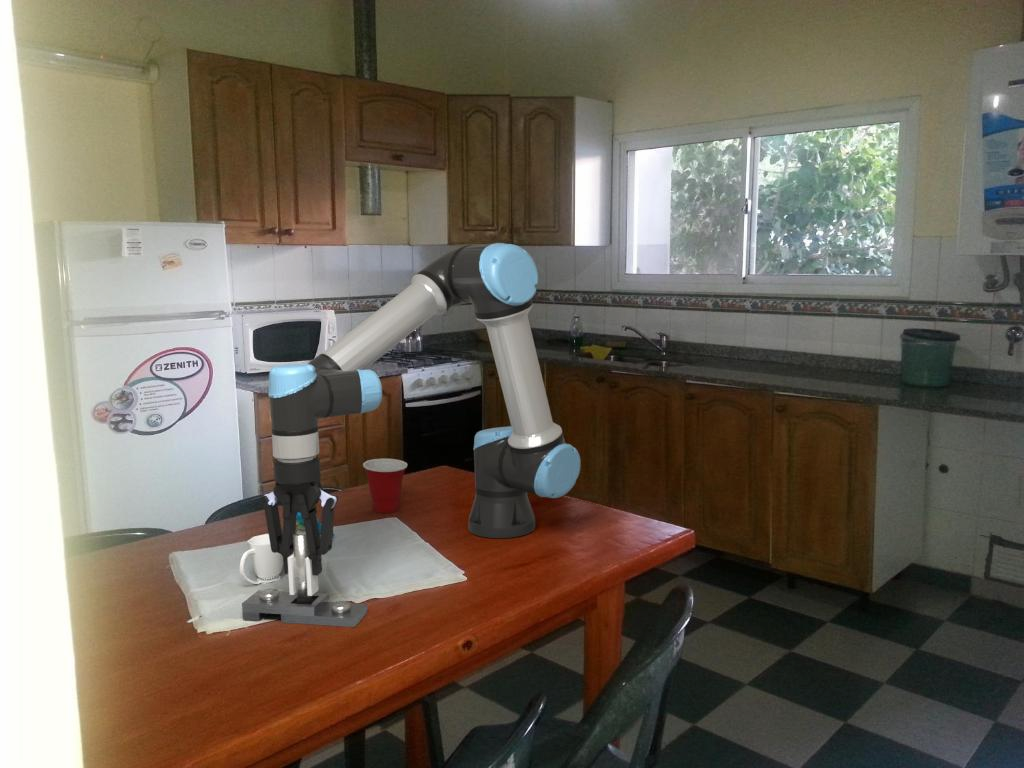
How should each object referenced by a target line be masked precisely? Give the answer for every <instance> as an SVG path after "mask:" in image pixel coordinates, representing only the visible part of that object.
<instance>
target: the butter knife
mask: <svg viewBox="0 0 1024 768" xmlns="http://www.w3.org/2000/svg"><path fill="white" fill-rule="evenodd" d="M236 595H237V596H236ZM236 595H234V596H232V597H230V599H229V598H227V599H228V600H227V599H226V601H225V600H223V601H224V602H223V601H221V602H220V603H218V604H216V605H217V606H216V605H214V606H215V608H214V606H212V607H213V609H218V608H221V609H223V608H222V607H223V606H226V607H227V605H228V604H230V603H231V602H232V604H234V603H233V601H236V600H238V599H241V597H242V596H244V595H245V593H239V594H236ZM241 600H242V599H241ZM230 605H231V604H230ZM228 606H229V605H228ZM199 615H200V614H198V615H196V616H194V617H193V618H191V619H189V620H187V621H186V623H192V622H195V621H196V620H199V619H200V618H199ZM198 618H199V619H198Z"/></svg>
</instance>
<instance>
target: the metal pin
mask: <svg viewBox="0 0 1024 768" xmlns="http://www.w3.org/2000/svg"><path fill="white" fill-rule="evenodd" d="M293 545H294V551H293V553H294V563H295V580H296V598H297V604H309V603H311V602H312V596H308V593H307V575H306V558H307V557H308V556H309V555H310V553H309V548H308V542H307V537H306V531H301V532H297V531H295V533H294V534H293Z"/></svg>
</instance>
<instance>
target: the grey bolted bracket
mask: <svg viewBox="0 0 1024 768" xmlns="http://www.w3.org/2000/svg"><path fill="white" fill-rule="evenodd" d="M241 609H242V610H241V611H242V621H249V622H260V621H261V620H263V619H264V618H265V617H266V616H267V615H268V614H274V615H280V622H281V623H283V624H297V625H299V624H301V625H312V626H313V625H315V626H331V627H346V628H347V627H348V628H349V627H350V628H355V627H357V625H358V624H359V623H360V622H361V620H363V618H364V617H365V616H366V615H367V614H368V604H367V603H352V602H351V601H348V600H338V601H329V593H324V592H323V593H322V592H316V593H315V594H313V595H312V602H311V603H309V604H297V598H296V594H294V595H290V591H282V590H279V589H277V588H266V589H258V590H256V592H254V593H253V594H252V595H251V596H249V597H248V598H246V599H245V600H244V601H243V602H241Z"/></svg>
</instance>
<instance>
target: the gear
mask: <svg viewBox="0 0 1024 768" xmlns="http://www.w3.org/2000/svg"><path fill="white" fill-rule="evenodd" d="M317 523H318V529H319V534H320V535H321V522H320V519H318V518H317ZM296 530H297V531H296V532H301V531H305V526H304V520H303V519H302V517H301V513H299V512H298V513H297V516H296ZM335 535H336V534H335V533H334V530H333V538H334V537H335Z"/></svg>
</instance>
